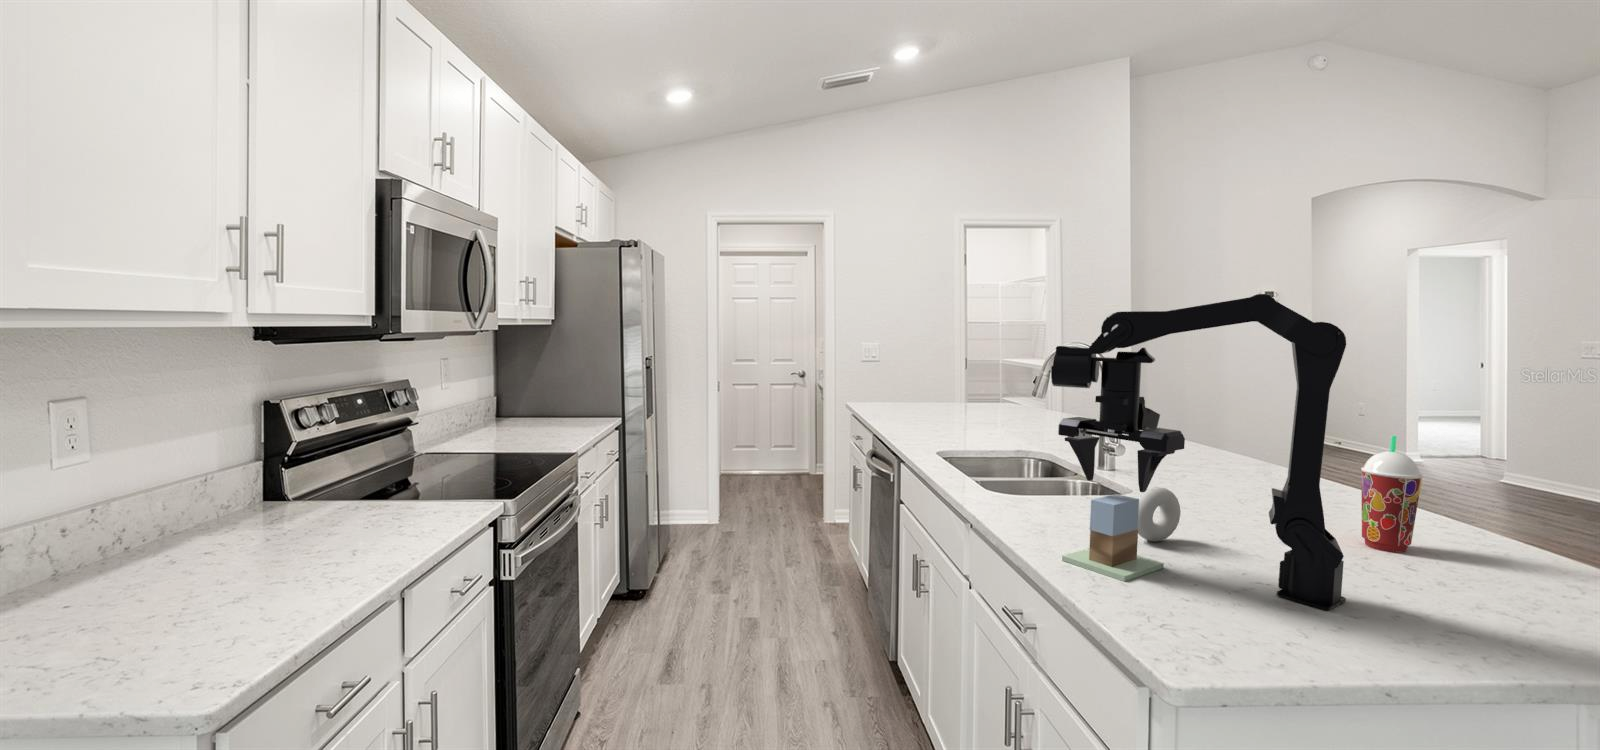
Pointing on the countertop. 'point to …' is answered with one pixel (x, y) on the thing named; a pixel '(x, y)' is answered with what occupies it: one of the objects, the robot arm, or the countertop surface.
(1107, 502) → the slate brick
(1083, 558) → the baseplate
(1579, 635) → the countertop surface
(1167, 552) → the countertop surface
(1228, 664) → the countertop surface
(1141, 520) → the donut
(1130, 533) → the walnut brick
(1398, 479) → the smoothie
